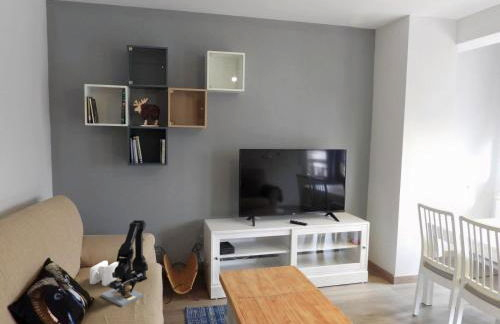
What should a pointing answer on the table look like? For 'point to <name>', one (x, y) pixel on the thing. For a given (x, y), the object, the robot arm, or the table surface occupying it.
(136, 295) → the keyhole board
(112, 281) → the robot arm
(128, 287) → the peg
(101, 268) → the cable organizer
